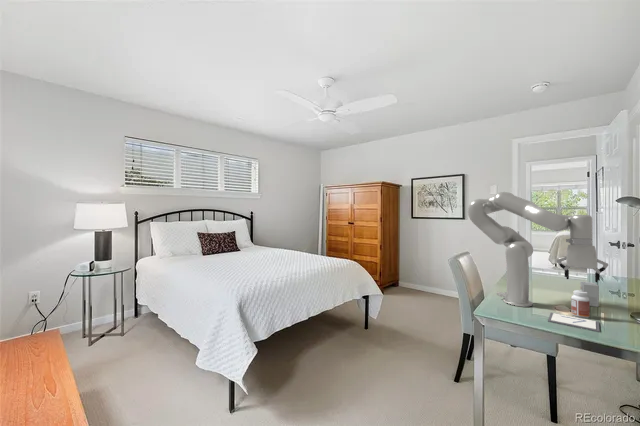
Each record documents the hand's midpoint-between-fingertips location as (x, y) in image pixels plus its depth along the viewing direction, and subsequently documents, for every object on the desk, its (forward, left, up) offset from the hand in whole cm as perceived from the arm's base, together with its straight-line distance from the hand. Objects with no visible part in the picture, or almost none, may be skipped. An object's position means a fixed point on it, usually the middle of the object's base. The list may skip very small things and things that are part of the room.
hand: (581, 280), depth 131 cm
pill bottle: (0, 0, -16) cm, 16 cm away
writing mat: (-2, -12, -16) cm, 20 cm away
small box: (+3, +25, -16) cm, 30 cm away
